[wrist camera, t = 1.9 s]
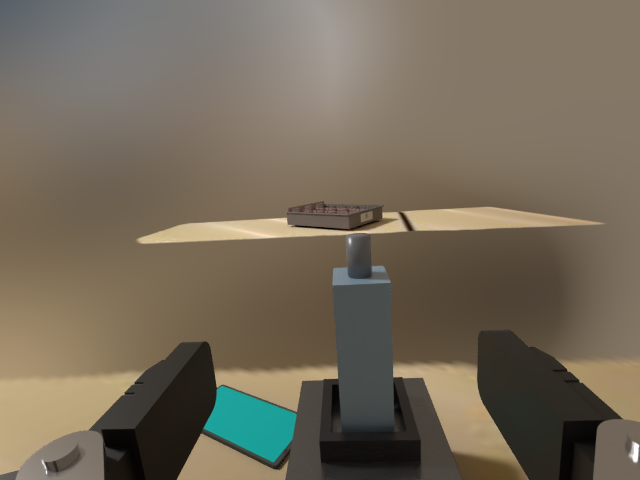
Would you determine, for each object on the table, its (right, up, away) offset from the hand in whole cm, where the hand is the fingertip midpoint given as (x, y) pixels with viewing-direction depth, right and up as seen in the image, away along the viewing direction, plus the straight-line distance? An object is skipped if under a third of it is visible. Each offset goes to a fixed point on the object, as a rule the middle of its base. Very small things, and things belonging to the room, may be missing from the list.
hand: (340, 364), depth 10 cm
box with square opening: (+4, -19, +20) cm, 28 cm away
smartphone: (-10, -19, +30) cm, 37 cm away
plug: (+3, -12, +18) cm, 22 cm away
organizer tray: (+7, +12, +164) cm, 165 cm away
